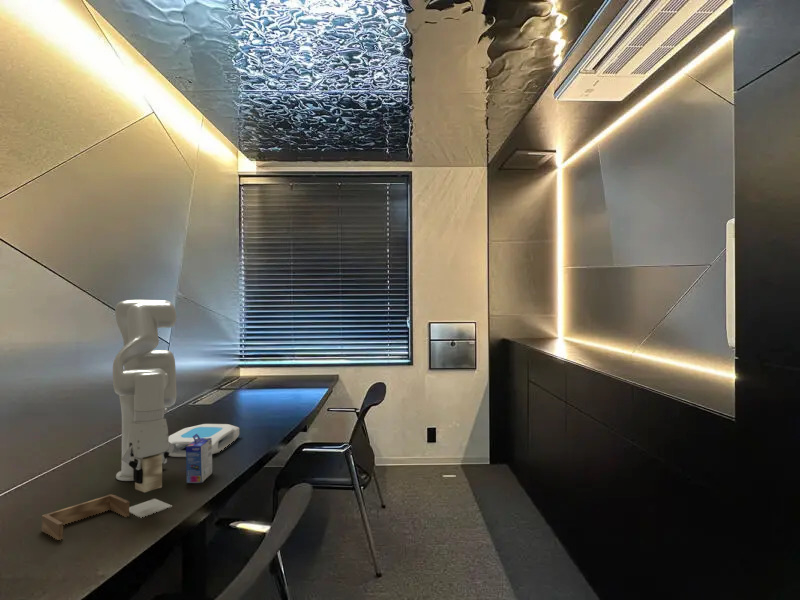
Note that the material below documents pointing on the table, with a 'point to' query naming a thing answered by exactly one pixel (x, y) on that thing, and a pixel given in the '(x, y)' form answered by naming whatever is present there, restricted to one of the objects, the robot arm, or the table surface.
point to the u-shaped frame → (82, 513)
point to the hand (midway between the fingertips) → (148, 479)
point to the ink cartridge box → (198, 459)
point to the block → (151, 474)
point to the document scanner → (213, 431)
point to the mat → (148, 508)
